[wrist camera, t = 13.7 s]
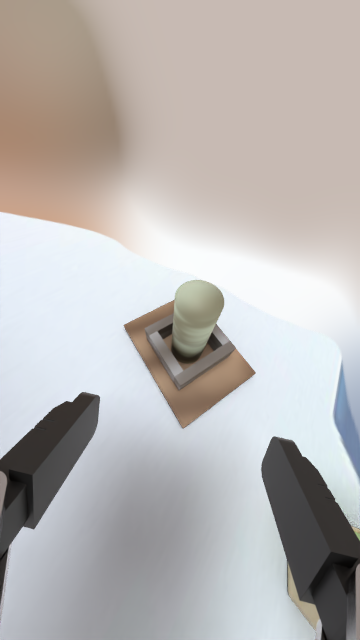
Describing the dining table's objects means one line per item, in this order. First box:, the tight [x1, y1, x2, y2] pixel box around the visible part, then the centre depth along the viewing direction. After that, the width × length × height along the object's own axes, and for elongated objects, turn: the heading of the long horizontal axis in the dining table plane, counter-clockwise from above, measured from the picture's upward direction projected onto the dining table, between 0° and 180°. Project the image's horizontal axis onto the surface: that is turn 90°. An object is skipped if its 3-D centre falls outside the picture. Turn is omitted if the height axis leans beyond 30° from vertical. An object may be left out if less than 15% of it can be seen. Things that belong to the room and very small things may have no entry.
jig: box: [124, 300, 255, 428], centre depth 27 cm, size 16×12×5 cm
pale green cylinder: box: [171, 280, 224, 364], centre depth 22 cm, size 4×4×12 cm
